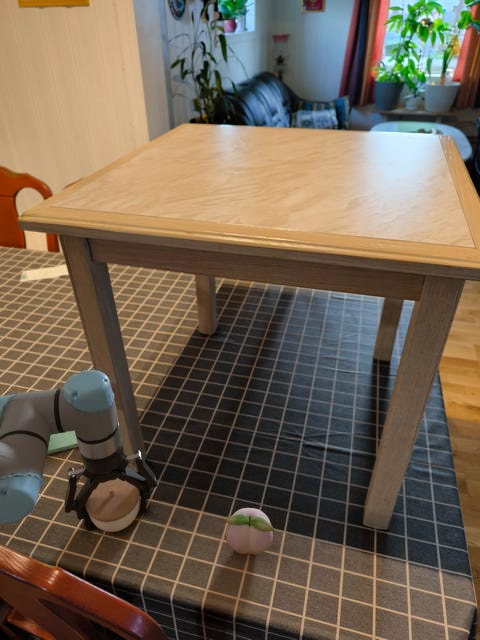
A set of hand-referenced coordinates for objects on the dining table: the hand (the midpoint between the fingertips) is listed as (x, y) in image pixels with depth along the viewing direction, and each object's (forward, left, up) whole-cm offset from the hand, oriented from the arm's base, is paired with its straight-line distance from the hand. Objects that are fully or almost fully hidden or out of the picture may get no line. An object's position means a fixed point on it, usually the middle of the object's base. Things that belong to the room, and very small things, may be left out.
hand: (117, 516), depth 93 cm
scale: (-10, +30, 0) cm, 31 cm away
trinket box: (0, 0, -1) cm, 1 cm away
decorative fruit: (+24, -15, -1) cm, 28 cm away
